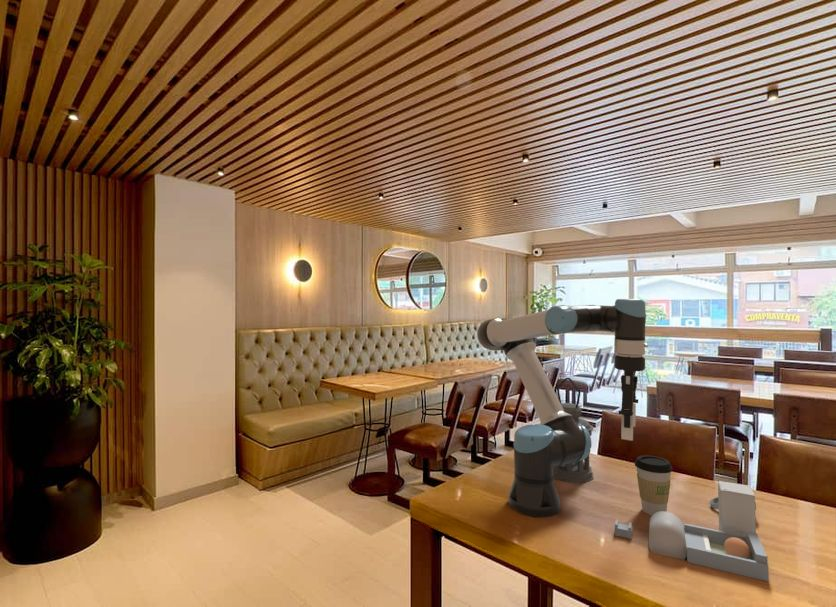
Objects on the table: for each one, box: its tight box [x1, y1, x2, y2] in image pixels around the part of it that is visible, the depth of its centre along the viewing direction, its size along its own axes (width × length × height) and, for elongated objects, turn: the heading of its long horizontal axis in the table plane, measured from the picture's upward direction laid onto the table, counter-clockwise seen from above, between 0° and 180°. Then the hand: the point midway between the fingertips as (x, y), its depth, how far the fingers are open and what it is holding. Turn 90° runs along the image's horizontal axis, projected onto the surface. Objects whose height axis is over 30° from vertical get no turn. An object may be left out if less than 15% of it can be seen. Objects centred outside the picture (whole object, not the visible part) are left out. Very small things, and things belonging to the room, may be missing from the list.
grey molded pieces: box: [614, 511, 770, 582], centre depth 105 cm, size 31×13×8 cm, turn 60°
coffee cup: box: [634, 454, 673, 516], centre depth 124 cm, size 10×10×15 cm
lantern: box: [554, 377, 595, 484], centre depth 154 cm, size 17×17×35 cm
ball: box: [724, 537, 750, 559], centre depth 99 cm, size 5×5×5 cm
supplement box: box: [717, 480, 757, 536], centre depth 111 cm, size 7×7×13 cm
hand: (628, 432), depth 115 cm, fingers open, 13 cm apart
